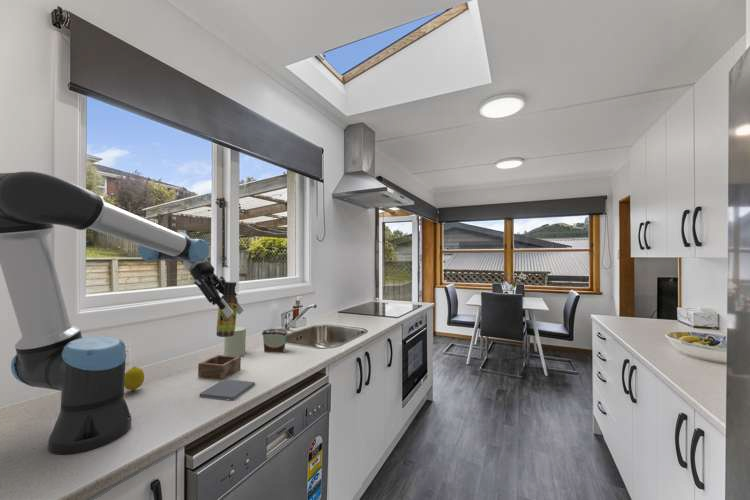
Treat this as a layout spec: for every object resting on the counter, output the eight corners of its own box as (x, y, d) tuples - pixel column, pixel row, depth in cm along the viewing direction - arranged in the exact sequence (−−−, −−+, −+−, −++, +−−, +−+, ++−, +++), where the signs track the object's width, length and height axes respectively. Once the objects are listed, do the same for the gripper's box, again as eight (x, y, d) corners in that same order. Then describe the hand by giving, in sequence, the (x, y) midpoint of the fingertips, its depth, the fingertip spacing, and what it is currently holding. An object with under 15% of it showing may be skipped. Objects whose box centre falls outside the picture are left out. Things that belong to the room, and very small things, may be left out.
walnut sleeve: (223, 379, 112) (223, 365, 112) (198, 377, 114) (198, 363, 114) (240, 369, 122) (240, 356, 122) (217, 367, 124) (217, 354, 124)
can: (223, 352, 143) (224, 326, 144) (245, 350, 147) (245, 325, 148) (223, 358, 135) (224, 331, 135) (246, 355, 139) (246, 329, 139)
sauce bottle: (217, 338, 109) (220, 282, 109) (215, 334, 114) (218, 281, 115) (236, 336, 112) (240, 282, 113) (233, 333, 117) (237, 281, 118)
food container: (291, 349, 150) (291, 328, 150) (286, 353, 144) (286, 331, 144) (267, 348, 151) (267, 327, 151) (261, 352, 145) (261, 330, 145)
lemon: (147, 388, 103) (148, 364, 103) (130, 395, 98) (131, 370, 98) (135, 386, 105) (136, 363, 105) (118, 393, 99) (119, 368, 100)
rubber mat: (233, 400, 96) (233, 397, 96) (199, 396, 98) (199, 393, 98) (254, 384, 108) (254, 382, 108) (224, 381, 110) (224, 379, 110)
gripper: (209, 273, 126) (244, 316, 122) (172, 274, 107) (211, 325, 104) (222, 260, 125) (257, 303, 122) (187, 260, 106) (227, 310, 103)
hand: (236, 313), depth 113 cm, fingers closed on sauce bottle, 6 cm apart
